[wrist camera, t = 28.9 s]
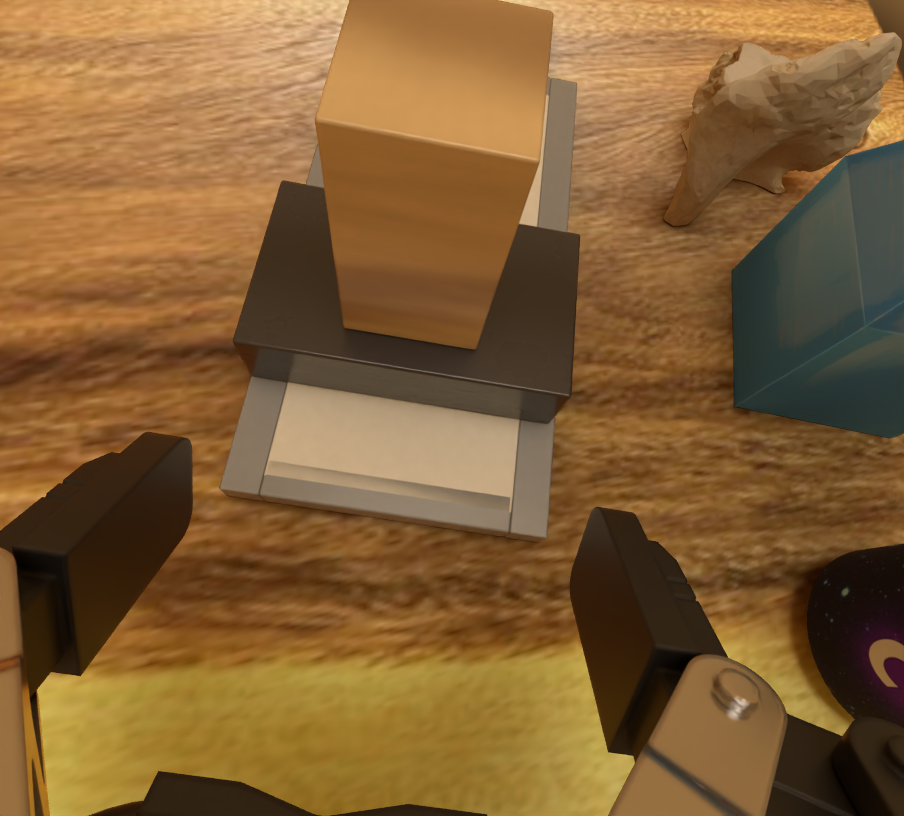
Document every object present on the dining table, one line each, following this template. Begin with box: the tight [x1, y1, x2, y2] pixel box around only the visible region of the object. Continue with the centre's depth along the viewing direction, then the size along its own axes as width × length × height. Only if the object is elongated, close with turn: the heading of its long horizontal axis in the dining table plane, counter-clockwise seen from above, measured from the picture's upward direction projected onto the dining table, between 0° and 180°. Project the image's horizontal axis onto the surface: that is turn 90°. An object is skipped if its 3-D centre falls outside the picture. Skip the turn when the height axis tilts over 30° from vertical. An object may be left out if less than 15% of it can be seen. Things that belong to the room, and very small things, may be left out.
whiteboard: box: [219, 77, 577, 542], centre depth 21 cm, size 20×10×1 cm, turn 172°
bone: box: [663, 33, 902, 226], centre depth 21 cm, size 9×6×10 cm
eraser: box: [233, 0, 580, 424], centre depth 15 cm, size 6×10×10 cm, turn 82°
